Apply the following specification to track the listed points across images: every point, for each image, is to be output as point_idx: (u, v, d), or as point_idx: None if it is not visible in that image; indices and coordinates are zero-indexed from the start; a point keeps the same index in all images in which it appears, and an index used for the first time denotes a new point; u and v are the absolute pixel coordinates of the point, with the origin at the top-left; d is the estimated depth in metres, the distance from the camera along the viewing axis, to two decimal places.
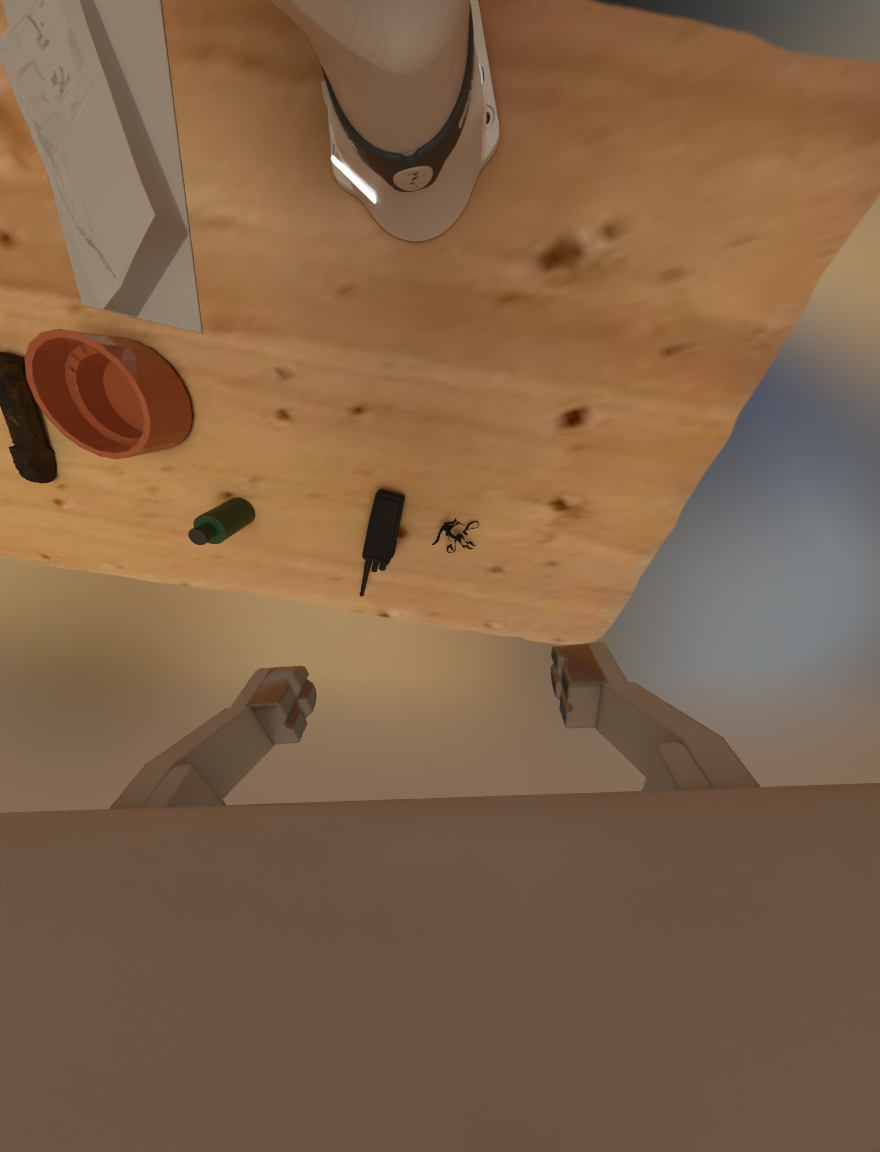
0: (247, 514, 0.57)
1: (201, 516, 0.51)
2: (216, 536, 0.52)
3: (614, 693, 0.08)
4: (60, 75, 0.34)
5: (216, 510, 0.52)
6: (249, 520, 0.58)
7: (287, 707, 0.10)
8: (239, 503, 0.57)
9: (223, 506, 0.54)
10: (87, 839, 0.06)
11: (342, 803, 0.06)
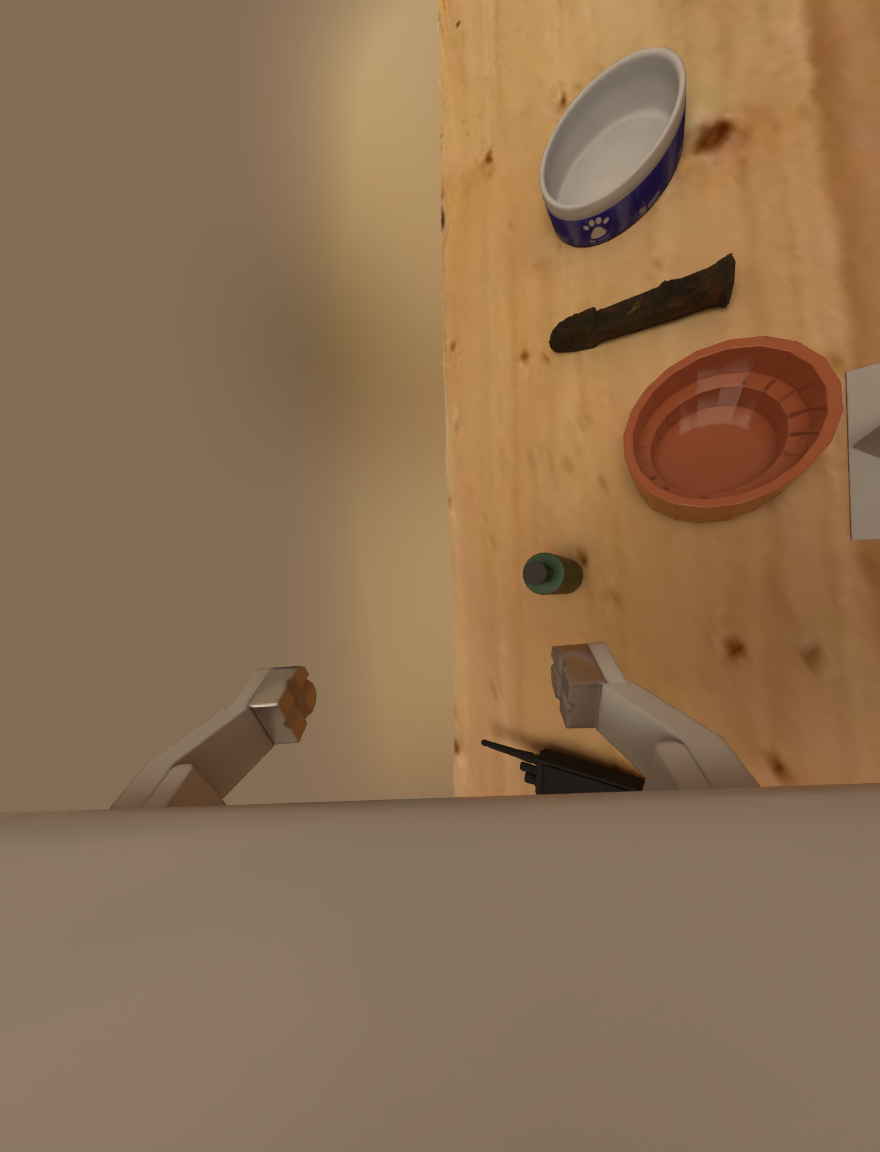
0: (564, 593, 0.43)
1: (561, 565, 0.37)
2: None
3: (614, 693, 0.08)
4: None
5: (570, 573, 0.39)
6: None
7: (287, 707, 0.10)
8: (578, 582, 0.43)
9: (574, 573, 0.40)
10: (87, 840, 0.06)
11: (342, 803, 0.06)
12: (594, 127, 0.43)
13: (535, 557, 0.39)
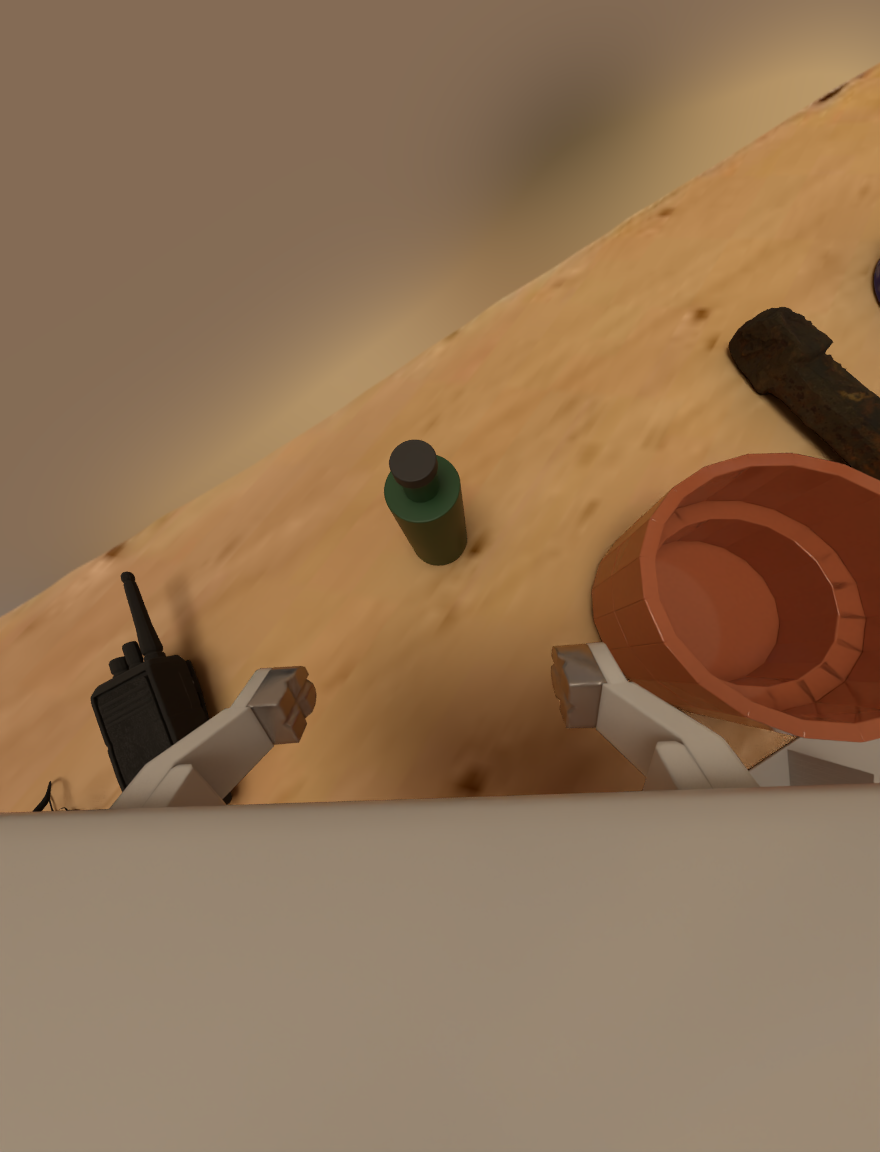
0: (415, 550, 0.27)
1: (451, 504, 0.20)
2: None
3: (614, 693, 0.08)
4: None
5: (447, 530, 0.22)
6: None
7: (287, 707, 0.10)
8: (441, 558, 0.27)
9: (451, 540, 0.24)
10: (87, 840, 0.06)
11: (342, 803, 0.06)
12: None
13: (440, 460, 0.21)
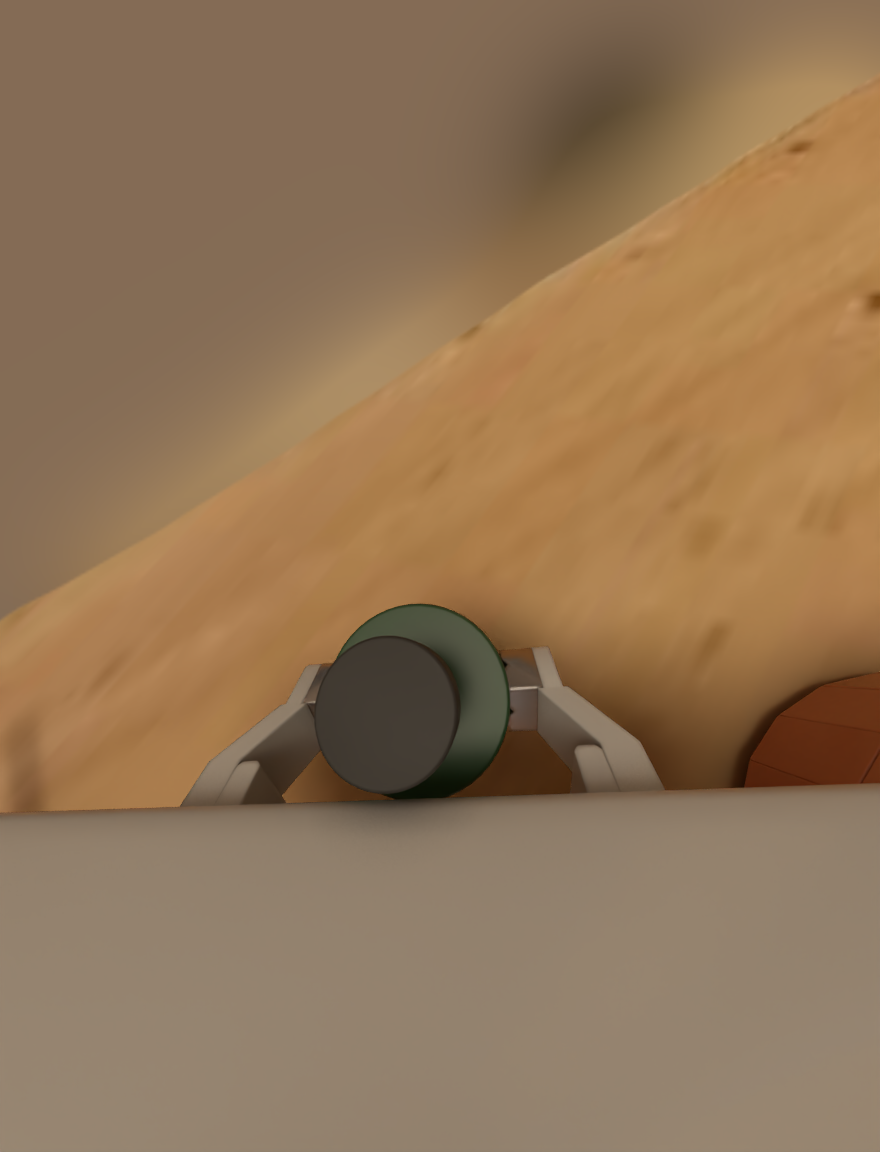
0: None
1: (488, 755, 0.08)
2: None
3: (547, 697, 0.08)
4: None
5: None
6: None
7: None
8: None
9: None
10: (87, 839, 0.06)
11: (342, 803, 0.06)
12: None
13: (460, 628, 0.09)
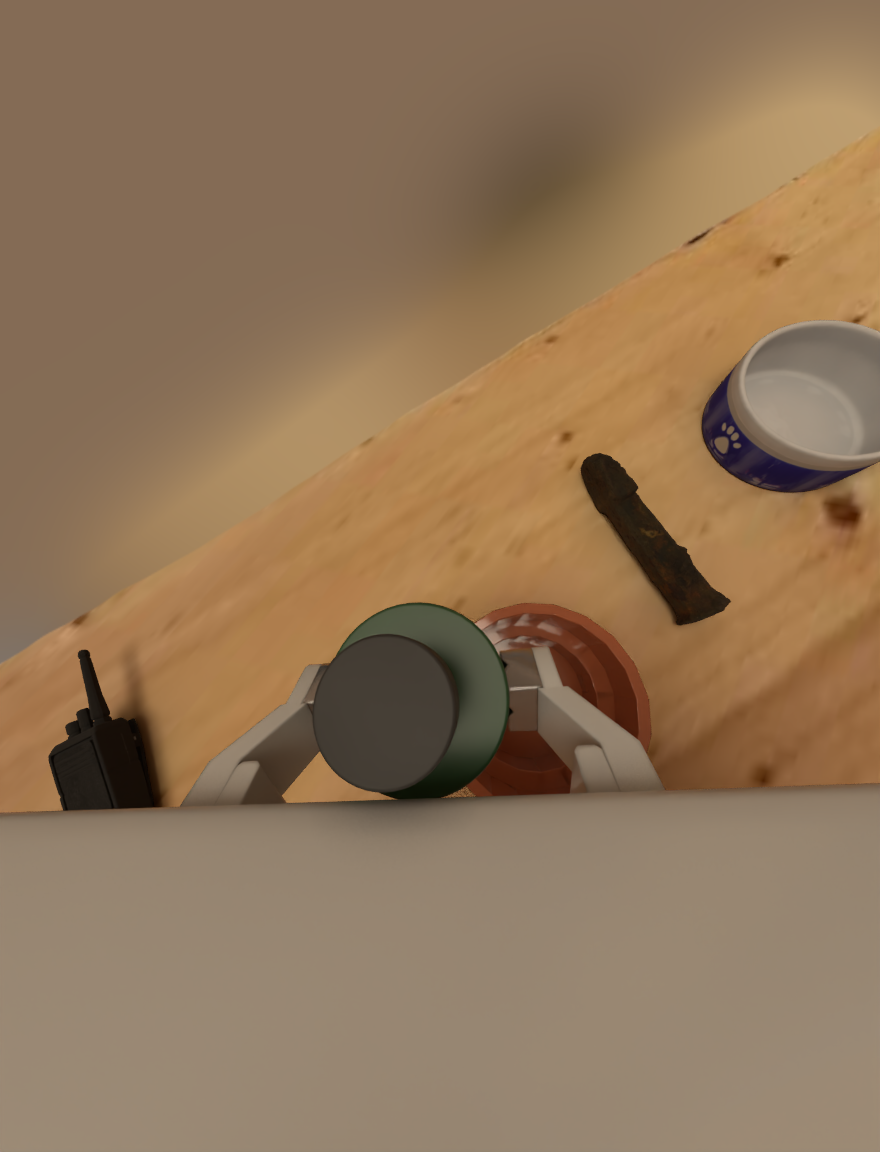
0: None
1: (487, 754, 0.08)
2: None
3: (547, 697, 0.08)
4: None
5: None
6: None
7: None
8: None
9: None
10: (87, 839, 0.06)
11: (342, 803, 0.06)
12: (835, 373, 0.34)
13: (459, 626, 0.09)
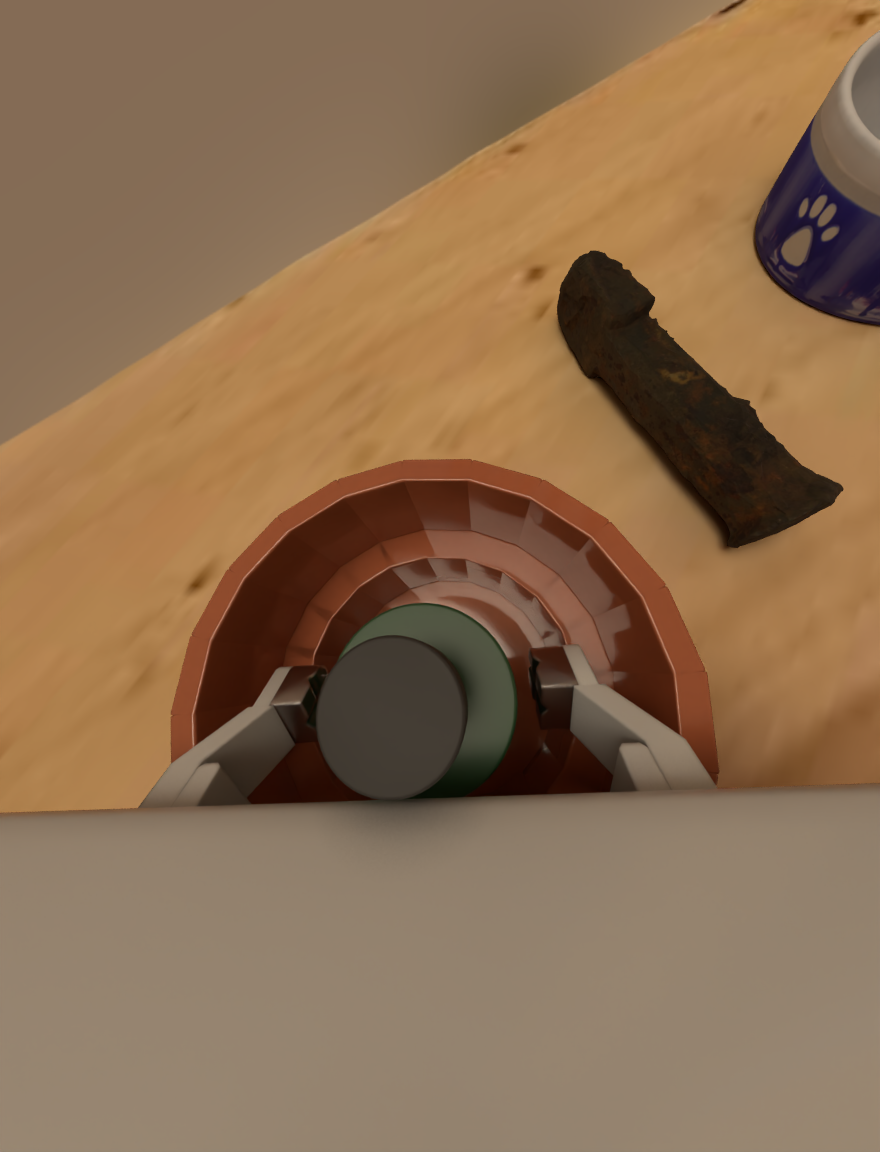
0: None
1: (495, 759, 0.08)
2: None
3: (584, 695, 0.08)
4: None
5: None
6: None
7: (309, 706, 0.10)
8: None
9: None
10: (87, 839, 0.06)
11: (342, 803, 0.06)
12: None
13: (466, 627, 0.09)
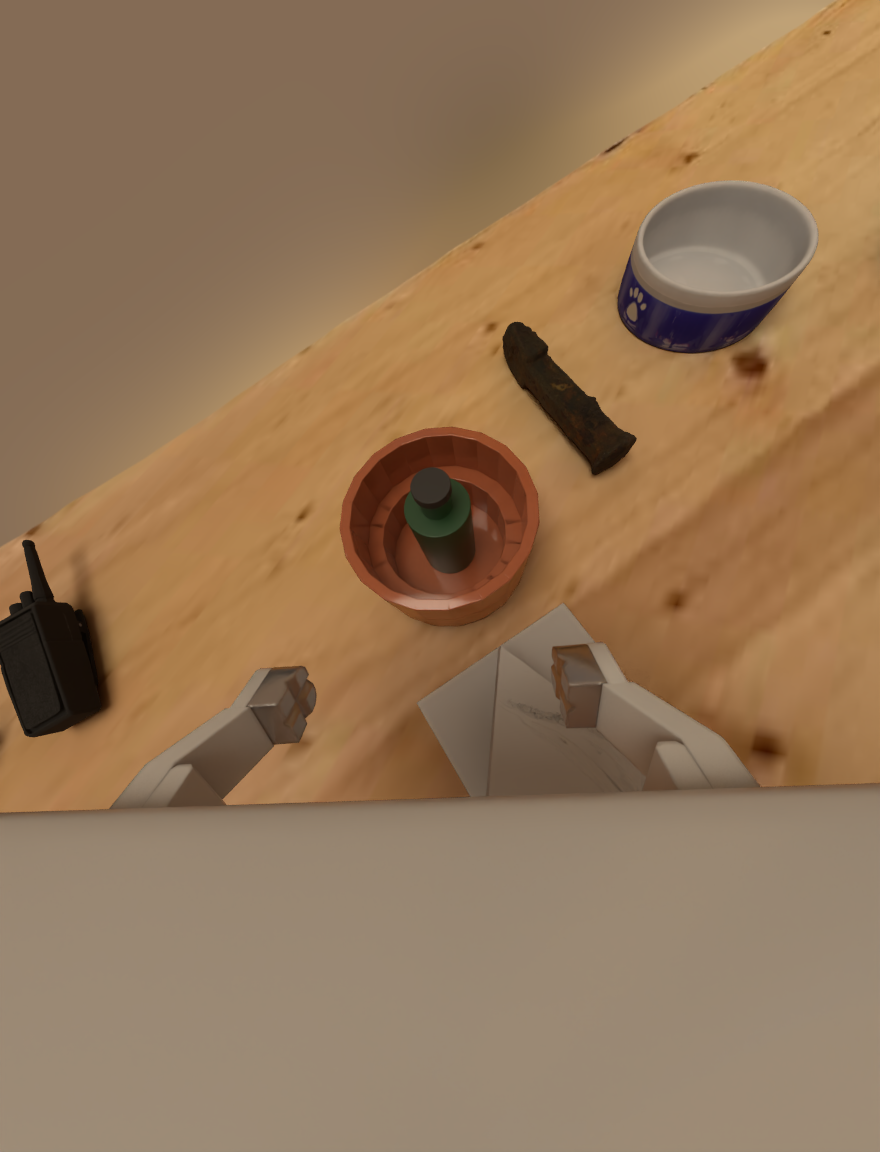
0: (430, 560, 0.30)
1: (463, 520, 0.23)
2: None
3: (614, 693, 0.08)
4: None
5: (459, 542, 0.25)
6: None
7: (287, 707, 0.10)
8: (453, 567, 0.30)
9: (462, 551, 0.27)
10: (87, 839, 0.06)
11: (342, 803, 0.06)
12: (737, 240, 0.36)
13: (452, 482, 0.24)
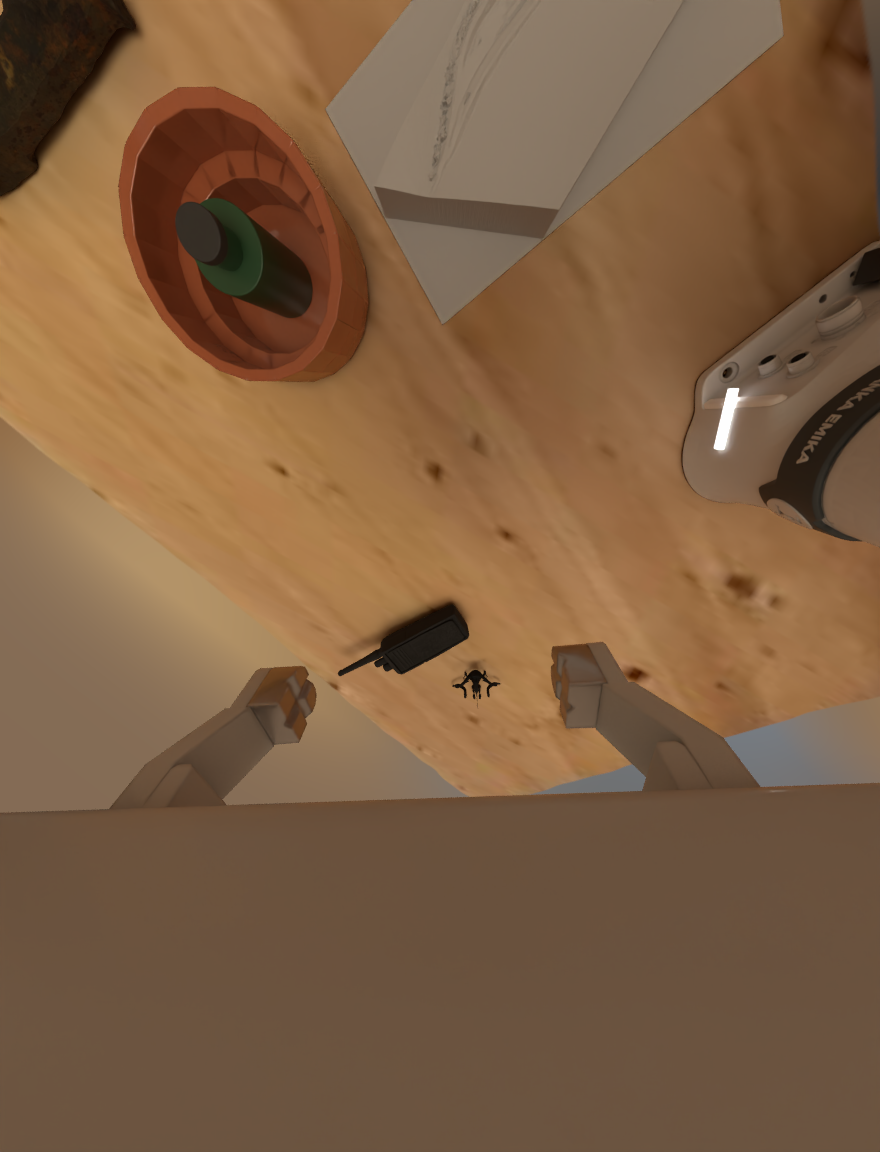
0: (299, 300, 0.28)
1: (235, 208, 0.21)
2: (229, 275, 0.23)
3: (614, 693, 0.08)
4: None
5: (266, 232, 0.23)
6: (291, 312, 0.29)
7: (287, 707, 0.10)
8: (302, 270, 0.28)
9: (278, 242, 0.25)
10: (87, 839, 0.06)
11: (342, 803, 0.06)
12: None
13: None
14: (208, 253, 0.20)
